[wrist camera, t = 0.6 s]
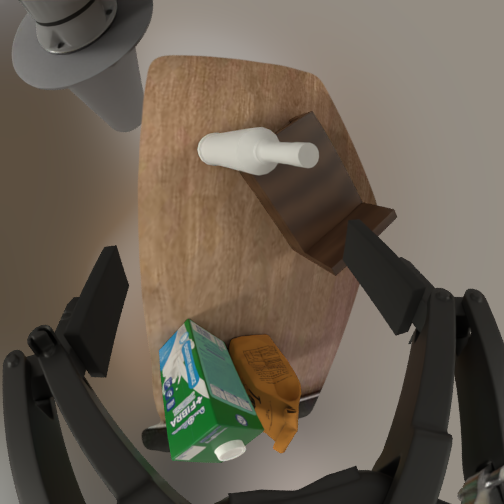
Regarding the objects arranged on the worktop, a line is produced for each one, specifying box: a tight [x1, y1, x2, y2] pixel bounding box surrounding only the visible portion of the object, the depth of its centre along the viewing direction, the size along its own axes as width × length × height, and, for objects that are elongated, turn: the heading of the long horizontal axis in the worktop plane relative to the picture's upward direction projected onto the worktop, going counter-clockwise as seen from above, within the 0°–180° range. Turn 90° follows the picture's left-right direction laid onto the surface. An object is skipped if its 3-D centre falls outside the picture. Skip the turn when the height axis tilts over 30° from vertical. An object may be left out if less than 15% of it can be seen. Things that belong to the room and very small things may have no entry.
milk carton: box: [159, 319, 264, 463], centre depth 39 cm, size 9×9×25 cm
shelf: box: [238, 111, 397, 276], centre depth 42 cm, size 20×14×14 cm
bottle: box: [198, 127, 319, 175], centre depth 31 cm, size 5×5×25 cm
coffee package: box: [229, 334, 301, 453], centre depth 45 cm, size 10×12×22 cm
